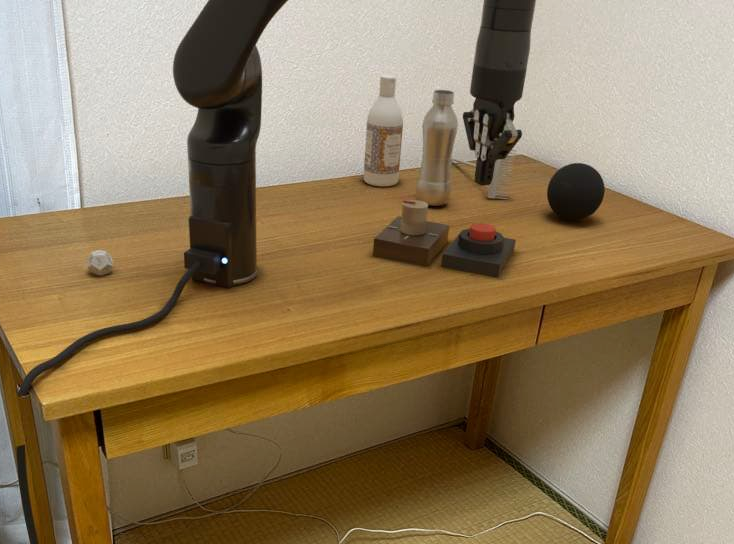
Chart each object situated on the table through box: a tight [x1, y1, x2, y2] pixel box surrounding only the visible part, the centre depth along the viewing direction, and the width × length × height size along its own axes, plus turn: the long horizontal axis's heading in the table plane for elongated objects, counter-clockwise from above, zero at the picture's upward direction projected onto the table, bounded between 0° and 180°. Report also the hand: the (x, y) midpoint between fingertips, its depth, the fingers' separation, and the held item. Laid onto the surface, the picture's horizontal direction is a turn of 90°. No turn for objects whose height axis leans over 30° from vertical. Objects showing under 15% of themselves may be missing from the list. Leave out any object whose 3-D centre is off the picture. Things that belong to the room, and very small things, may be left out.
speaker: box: [546, 162, 605, 221], centre depth 148 cm, size 10×10×10 cm
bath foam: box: [363, 74, 404, 188], centre depth 158 cm, size 7×7×20 cm
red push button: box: [469, 222, 497, 241], centre depth 129 cm, size 4×4×2 cm
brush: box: [451, 149, 518, 200], centre depth 168 cm, size 4×27×9 cm, turn 11°
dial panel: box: [372, 215, 450, 268], centre depth 132 cm, size 12×9×3 cm
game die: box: [86, 249, 114, 276], centre depth 118 cm, size 4×4×3 cm
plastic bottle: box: [415, 89, 459, 207], centre depth 148 cm, size 6×7×20 cm
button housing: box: [441, 227, 517, 279], centre depth 130 cm, size 12×9×4 cm
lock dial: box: [400, 199, 429, 235], centre depth 130 cm, size 4×4×5 cm
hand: (482, 183), depth 125 cm, fingers closed
